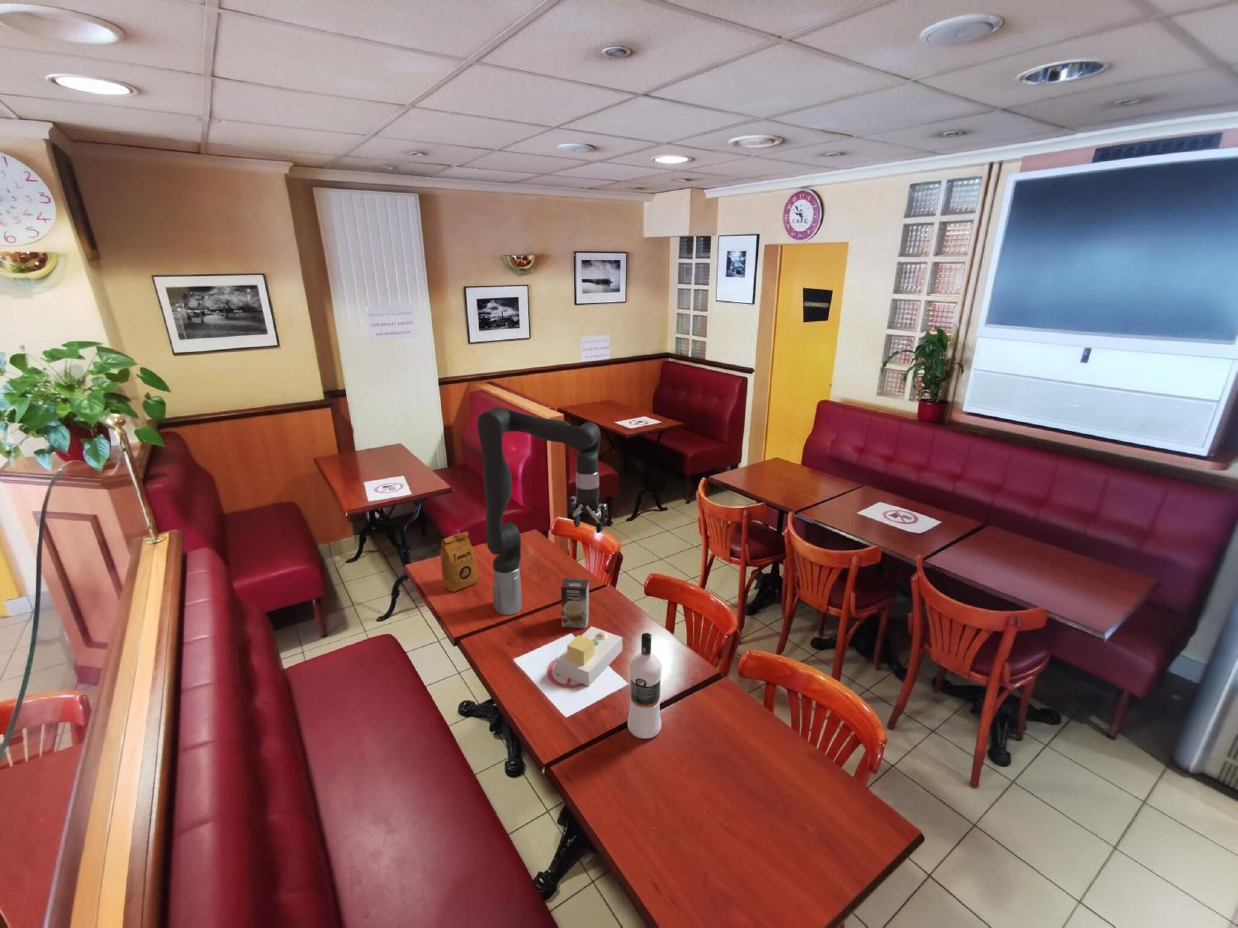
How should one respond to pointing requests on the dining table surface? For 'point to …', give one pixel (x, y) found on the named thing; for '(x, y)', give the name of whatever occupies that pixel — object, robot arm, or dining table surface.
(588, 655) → the cap
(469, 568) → the coffee package
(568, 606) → the coffee box
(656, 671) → the vodka
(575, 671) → the panel
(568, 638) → the dining table surface
